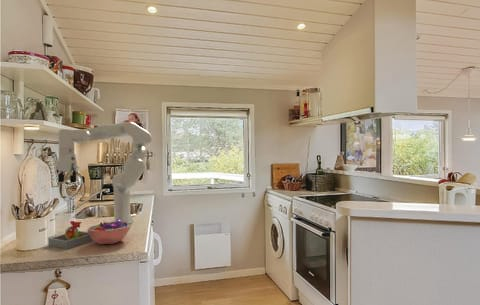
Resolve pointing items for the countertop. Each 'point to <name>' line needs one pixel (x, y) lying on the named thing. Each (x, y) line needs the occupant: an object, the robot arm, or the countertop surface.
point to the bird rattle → (73, 231)
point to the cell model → (109, 232)
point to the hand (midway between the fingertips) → (67, 182)
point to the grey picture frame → (69, 241)
